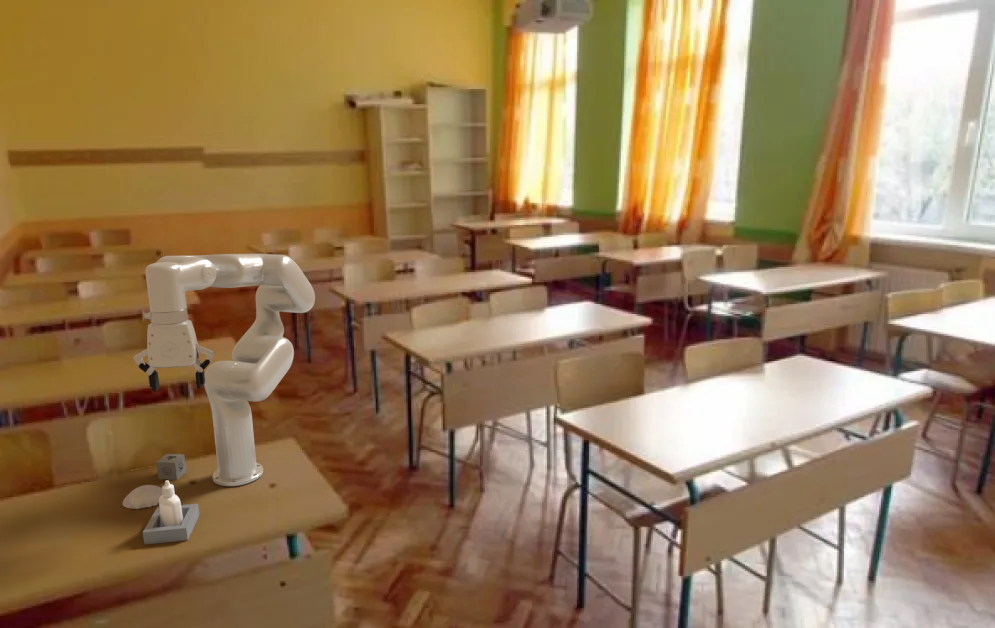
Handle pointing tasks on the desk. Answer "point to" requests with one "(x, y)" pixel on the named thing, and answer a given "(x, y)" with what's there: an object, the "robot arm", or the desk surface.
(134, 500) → the seashell
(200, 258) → the robot arm
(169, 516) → the eye dropper bottle
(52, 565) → the desk surface
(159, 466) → the dice cube
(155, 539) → the bottle holder
